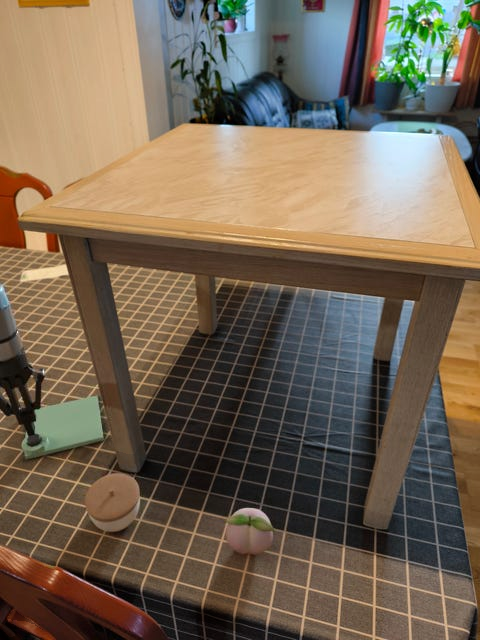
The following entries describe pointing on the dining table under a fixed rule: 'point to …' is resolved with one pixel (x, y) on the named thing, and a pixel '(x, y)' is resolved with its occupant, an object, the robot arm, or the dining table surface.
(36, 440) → the button
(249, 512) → the decorative fruit
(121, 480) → the trinket box
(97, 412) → the scale
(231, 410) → the dining table surface
